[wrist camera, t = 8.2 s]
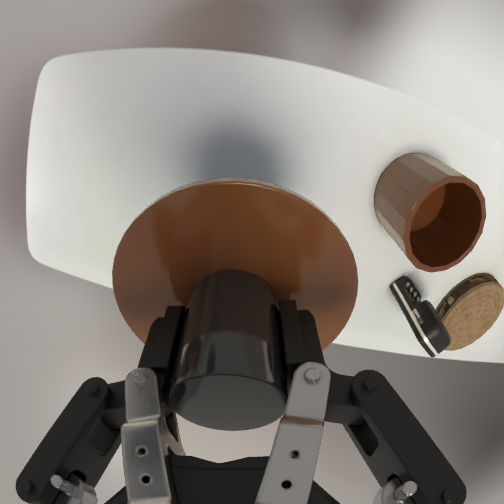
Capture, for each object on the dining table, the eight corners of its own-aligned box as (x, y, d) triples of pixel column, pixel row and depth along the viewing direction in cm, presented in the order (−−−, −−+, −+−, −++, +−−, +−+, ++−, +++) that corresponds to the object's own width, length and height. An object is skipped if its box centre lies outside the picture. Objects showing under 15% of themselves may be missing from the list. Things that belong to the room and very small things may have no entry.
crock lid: (91, 191, 12) (4, 276, 7) (360, 165, 12) (445, 244, 6) (156, 364, 19) (135, 453, 13) (339, 354, 18) (361, 447, 12)
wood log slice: (507, 287, 42) (515, 296, 39) (458, 344, 50) (464, 355, 47) (472, 260, 38) (481, 271, 36) (414, 331, 46) (420, 343, 43)
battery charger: (425, 293, 42) (457, 346, 32) (406, 308, 43) (434, 362, 33) (408, 268, 39) (444, 324, 29) (387, 285, 40) (418, 343, 31)
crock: (376, 151, 30) (411, 175, 23) (451, 154, 30) (493, 177, 23) (370, 237, 36) (396, 277, 29) (439, 232, 36) (472, 266, 29)
